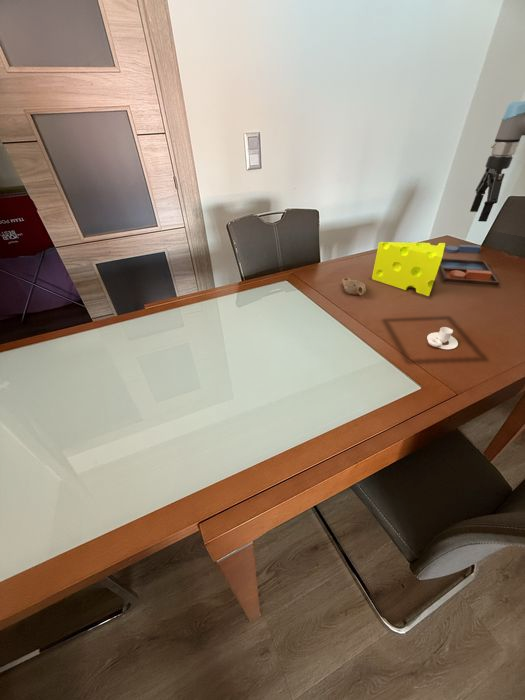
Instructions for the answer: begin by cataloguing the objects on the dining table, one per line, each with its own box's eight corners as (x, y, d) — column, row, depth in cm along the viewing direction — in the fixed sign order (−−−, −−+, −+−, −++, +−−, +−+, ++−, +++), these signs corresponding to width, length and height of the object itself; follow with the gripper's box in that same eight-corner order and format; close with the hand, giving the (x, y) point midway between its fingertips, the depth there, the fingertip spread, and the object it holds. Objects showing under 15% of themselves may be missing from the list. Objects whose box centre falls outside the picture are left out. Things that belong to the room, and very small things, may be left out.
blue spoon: (476, 250, 136) (478, 244, 134) (479, 254, 132) (481, 248, 130) (443, 248, 139) (445, 242, 137) (445, 252, 135) (447, 247, 133)
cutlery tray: (483, 265, 124) (485, 260, 122) (497, 287, 109) (499, 282, 108) (435, 262, 128) (437, 257, 127) (443, 283, 114) (445, 278, 112)
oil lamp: (336, 285, 116) (337, 273, 113) (354, 282, 117) (356, 270, 114) (352, 302, 106) (354, 289, 103) (371, 299, 107) (374, 286, 104)
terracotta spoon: (486, 275, 115) (489, 269, 113) (490, 282, 111) (493, 275, 109) (448, 273, 118) (450, 266, 116) (450, 279, 114) (453, 272, 113)
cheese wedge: (405, 303, 104) (417, 262, 94) (371, 279, 119) (379, 241, 109) (451, 292, 108) (467, 252, 99) (412, 270, 123) (423, 233, 113)
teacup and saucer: (430, 351, 84) (435, 339, 81) (419, 334, 90) (423, 323, 88) (462, 350, 84) (468, 338, 81) (449, 333, 90) (453, 321, 87)
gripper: (480, 151, 121) (461, 207, 135) (500, 161, 103) (475, 225, 116) (502, 150, 119) (480, 208, 133) (525, 160, 101) (497, 226, 114)
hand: (477, 216), depth 125 cm, fingers open, 13 cm apart
